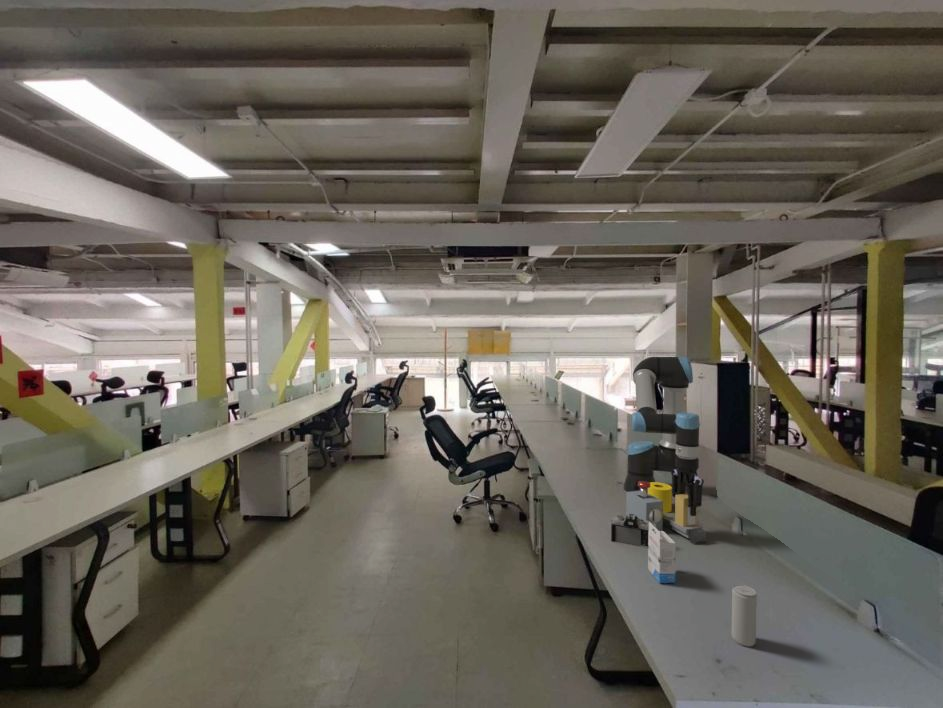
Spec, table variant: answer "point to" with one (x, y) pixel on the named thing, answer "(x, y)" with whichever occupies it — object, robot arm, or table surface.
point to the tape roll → (662, 494)
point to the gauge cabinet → (645, 508)
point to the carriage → (683, 517)
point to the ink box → (661, 555)
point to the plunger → (643, 489)
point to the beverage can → (744, 615)
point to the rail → (696, 535)
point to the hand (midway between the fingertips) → (686, 521)
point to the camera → (630, 530)
